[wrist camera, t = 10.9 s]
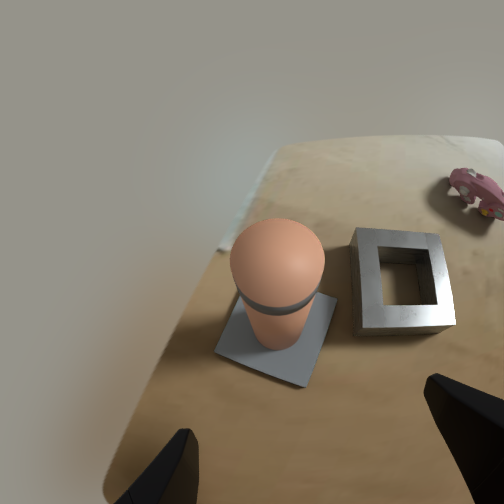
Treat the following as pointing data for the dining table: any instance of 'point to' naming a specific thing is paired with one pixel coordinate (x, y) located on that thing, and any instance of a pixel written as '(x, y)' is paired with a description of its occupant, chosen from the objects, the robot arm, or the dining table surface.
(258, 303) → the pin
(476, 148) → the dining table surface
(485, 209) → the video game controller
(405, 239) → the eye block
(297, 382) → the mat
